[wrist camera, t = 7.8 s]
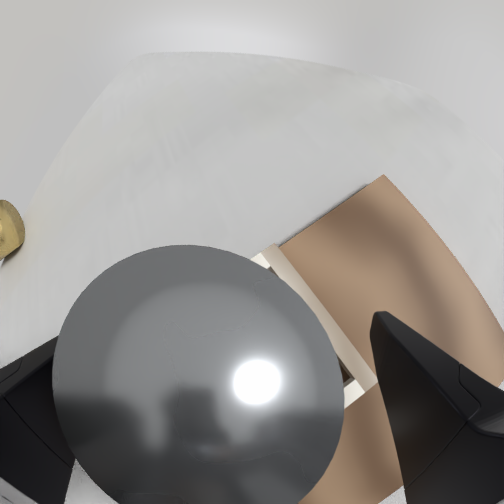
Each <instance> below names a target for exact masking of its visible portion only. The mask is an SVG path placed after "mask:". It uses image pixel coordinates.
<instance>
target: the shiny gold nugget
mask: <svg viewBox="0 0 504 504" xmlns="http://www.w3.org/2000/svg"><path fill="white" fill-rule="evenodd" d="M24 238H25V228H24V224H23V221H22V218H21V216H20V214H19V213H18V211H17V210H16V208H15V207H14V206H13V205H12V204H11V203H9V202H8V201H6V200H0V261H1V260H2V259H3V258H5V257H6V256H7V255H8V254H10V253H11V252H12V251H13V250H15V249H16V248H17V247H19V246H20V245H21V244H22V243H23V241H24Z"/></svg>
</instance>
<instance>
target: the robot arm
mask: <svg viewBox="0 0 504 504" xmlns="http://www.w3.org/2000/svg"><path fill="white" fill-rule="evenodd" d="M58 336H59V335H58ZM58 336H57V337H55V338H53V339H51V340H50V341H48V342H46V343H45V344H43V345H41V346H39V347H38V348H36V349H34V350H33V351H31V352H29V353H27V354H26V355H24V357H23V356H22V357H21V358H19V359H17V360H15V361H14V362H12V363H10V364H8V365H7V366H5V367H3V368H1V369H0V504H35V503H37V504H64V502H65V497H66V493H67V489H68V485H69V481H70V477H71V473H72V468H73V466H74V462H75V459H76V457H75V456H74V454H73V452H72V451H71V449H70V447H69V445H68V443H67V441H66V439H65V436H64V434H63V431H62V429H61V426H60V423H59V420H58V416H57V412H56V408H55V403H54V395H53V386H52V371H53V361H54V353H55V348H56V344H57V340H58ZM370 342H371V348H372V353H373V358H374V364H375V370H376V375H377V380H378V384H379V387H380V390H381V394H382V397H383V401H384V405H385V408H386V412H387V416H388V419H389V423H390V427H391V431H392V435H393V439H394V443H395V448H396V452H397V456H398V461H399V465H400V470H401V475H402V480H403V485H404V489H405V490H404V491H405V496H406V502H407V504H504V391H503V390H501V389H499V388H498V387H496V386H494V385H493V384H491V383H490V382H488V381H486V380H485V379H483V378H482V377H480V376H479V375H477V374H476V373H474V372H473V371H471V370H470V369H469V368H467V367H466V366H464V365H463V364H462V363H460V362H459V361H457V360H456V359H455V358H453V357H452V356H450V355H449V354H448V353H446V352H445V351H443V350H442V349H441V348H439V347H438V346H436V345H435V344H434V343H432V342H431V341H429V340H428V339H426V338H425V337H424V336H422V335H421V334H419V333H418V332H416V331H415V330H414V329H412V328H411V327H409V326H408V325H406V324H405V323H404V322H402V321H401V320H399V319H398V318H396V317H395V316H393V315H392V314H391V313H389V312H387V311H376V312H375V313H374V314H373V318H372V323H371V328H370Z"/></svg>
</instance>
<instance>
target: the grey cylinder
mask: <svg viewBox="0 0 504 504" xmlns="http://www.w3.org/2000/svg"><path fill="white" fill-rule="evenodd" d="M52 386H53V395H54V403H55V408H56V412H57V416H58V420H59V423H60V426H61V429H62V431H63V434H64V436H65V439H66V441H67V443H68V445H69V447H70V449H71V451H72V452H73V454H74V456H75V457H76V459H77V460H78V462H79V464H80V465H81V467H82V468H83V469H84V470H85V472H86V473H87V474H88V475H89V477H90V478H91V479H92V480H93V481H94V482H95V483H96V484H97V485H98V486H99V487H100V488H101V489H102V490H103V491H104V492H105V493H106V494H107V495H109V496H110V497H111V498H112V499H113V500H115V501H116V502H117V503H119V504H297V503H298V502H299V501H301V500H302V499H303V498H304V497H305V496H306V495H307V494H308V493H309V492H310V491H311V490H312V489H313V488H314V486H315V485H316V484H317V483H318V481H319V480H320V479H321V477H322V476H323V475H324V473H325V471H326V469H327V468H328V466H329V464H330V462H331V460H332V459H333V456H334V454H335V451H336V448H337V445H338V443H339V440H340V436H341V431H342V426H343V420H344V400H345V396H344V387H343V379H342V373H341V370H340V366H339V362H338V359H337V355H336V352H335V350H334V348H333V346H332V343H331V341H330V339H329V336H328V334H327V332H326V331H325V329H324V327H323V326H322V324H321V323H320V321H319V319H318V318H317V316H316V314H315V313H314V312H313V311H312V309H311V308H310V307H309V306H308V305H307V303H306V302H305V301H304V300H303V299H302V297H301V296H300V295H299V294H298V293H296V292H295V291H294V290H293V289H292V288H291V287H290V286H289V285H288V284H287V283H286V282H285V281H283V280H282V279H280V278H279V277H278V276H276V275H275V274H273V273H272V272H271V271H269V270H268V269H266V268H264V267H262V266H261V265H259V264H257V263H255V262H253V261H251V260H249V259H247V258H245V257H242V256H239V255H237V254H234V253H231V252H229V251H224V250H220V249H216V248H212V247H205V246H196V245H171V246H165V247H159V248H153V249H150V250H146V251H143V252H140V253H137V254H134V255H132V256H130V257H128V258H125V259H123V260H121V261H119V262H118V263H116V264H114V265H113V266H111V267H110V268H108V269H107V270H105V271H104V272H103V273H102V274H100V275H99V276H98V277H97V278H96V279H94V280H93V281H92V282H91V283H90V284H89V285H88V287H87V288H86V289H85V290H84V291H83V292H82V293H81V295H80V296H79V297H78V299H77V300H76V302H75V303H74V304H73V306H72V308H71V309H70V311H69V313H68V315H67V317H66V319H65V321H64V323H63V326H62V328H61V331H60V334H59V336H58V340H57V344H56V348H55V353H54V361H53V371H52Z"/></svg>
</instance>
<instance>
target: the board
mask: <svg viewBox="0 0 504 504" xmlns="http://www.w3.org/2000/svg"><path fill="white" fill-rule="evenodd" d="M250 260H251V261H253V262H255V263H257V264H259V265H261V266H262V267H264V268H266V269H268V270H269V271H271V272H272V273H273V274H275V275H276V276H278V277H279V278H280V279H282V280H283V281H285V282H286V283H287V284H288V285H289V286H290V287H291V288H292V289H293V290H294V291H295V292H296V293H298V294H299V295H300V296H301V297H302V299H303V300H304V301H305V302H306V303H307V305H308V306H309V307H310V308H311V309H312V311H313V312H314V313H315V314H316V316H317V318H318V319H319V321H320V323H321V324H322V326H323V327H324V329H325V331H326V332H327V334H328V336H329V339H330V341H331V343H332V346H333V348H334V350H335V352H336V355H337V359H338V362H339V366H340V370H341V373H342V379H343V387H344V396H345V400H344V420H343V426H342V431H341V436H340V440H339V443H338V445H337V448H336V451H335V454H334V456H333V459H332V460H331V462H330V464H329V466H328V468H327V469H326V471H325V473H324V475H323V476H322V477H321V479H320V480H319V481H318V483H317V484H316V485H315V486H314V488H313V489H312V490H311V491H310V492H309V493H308V494H307V495H306V496H305V497H304V498H303V499H302V500H301V501H299V502H298V503H297V504H378V503H380V502H381V501H382V500H384V499H385V498H387V497H388V496H389V495H391V494H392V493H393V492H395V491H396V490H397V489H399V488H400V487H401V486H403V480H402V475H401V470H400V465H399V461H398V456H397V452H396V448H395V443H394V439H393V435H392V431H391V427H390V423H389V419H388V416H387V412H386V408H385V405H384V401H383V397H382V394H381V390H380V387H379V384H378V380H377V375H376V370H375V364H374V358H373V353H372V348H371V342H370V328H371V323H372V318H373V314H374V313H375V312H376V311H387V312H389V313H391V314H392V315H393V316H395V317H396V318H398V319H399V320H401V321H402V322H404V323H405V324H406V325H408V326H409V327H411V328H412V329H414V330H415V331H416V332H418V333H419V334H421V335H422V336H424V337H425V338H426V339H428V340H429V341H431V342H432V343H434V344H435V345H436V346H438V347H439V348H441V349H442V350H443V351H445V352H446V353H448V354H449V355H450V356H452V357H453V358H455V359H456V360H457V361H459V362H460V363H462V364H463V365H464V366H466V367H467V368H469V369H470V370H471V371H473V372H474V373H476V374H477V375H479V376H480V377H482V378H483V379H485V380H486V381H488V382H490V383H491V384H493V385H494V386H496V387H499V385H500V384H501V382H502V381H503V380H504V332H503V330H502V328H501V326H500V324H499V323H498V321H497V319H496V318H495V316H494V314H493V313H492V311H491V309H490V308H489V306H488V304H487V303H486V301H485V300H484V298H483V297H482V295H481V293H480V292H479V290H478V289H477V287H476V286H475V284H474V283H473V282H472V280H471V279H470V277H469V276H468V274H467V273H466V271H465V270H464V269H463V267H462V266H461V264H460V263H459V262H458V260H457V259H456V258H455V256H454V255H453V254H452V252H451V251H450V250H449V248H448V247H447V246H446V245H445V243H444V242H443V241H442V239H441V238H440V237H439V236H438V234H437V233H436V232H435V231H434V229H433V228H432V227H431V226H430V225H429V223H428V222H427V221H426V220H425V219H424V218H423V216H422V215H421V214H420V213H419V212H418V211H417V209H416V208H415V207H414V206H413V205H412V204H411V203H410V202H409V200H408V199H407V198H406V197H405V196H404V195H403V194H402V193H401V192H400V191H399V190H398V189H397V187H396V186H395V185H394V184H393V183H392V182H391V181H390V180H389V179H388V178H387V177H386V176H385V175H384V174H383V175H382V176H380V177H379V178H377V179H376V180H375V181H373V182H372V183H370V184H369V185H368V186H366V187H365V188H363V189H362V190H360V191H359V192H358V193H356V194H355V195H353V196H352V197H351V198H349V199H348V200H346V201H345V202H343V203H342V204H341V205H339V206H338V207H336V208H335V209H333V210H332V211H331V212H329V213H328V214H326V215H325V216H323V217H322V218H321V219H319V220H318V221H316V222H315V223H313V224H312V225H310V226H309V227H308V228H306V229H305V230H303V231H302V232H300V233H299V234H297V235H296V236H295V237H293V238H292V239H290V240H289V241H287V242H286V243H284V244H283V245H282V246H280V247H279V248H278V247H277V245H276V244H275V243H274V244H272V245H271V246H269V247H268V248H266V249H265V250H263V251H262V252H261V253H259V254H258V255H256V256H255V257H253V258H252V259H250Z"/></svg>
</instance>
